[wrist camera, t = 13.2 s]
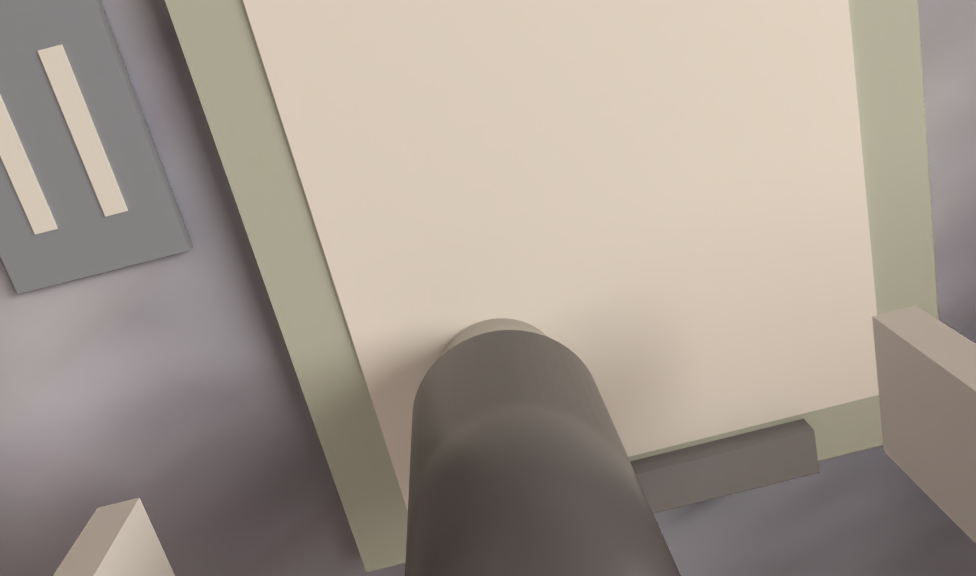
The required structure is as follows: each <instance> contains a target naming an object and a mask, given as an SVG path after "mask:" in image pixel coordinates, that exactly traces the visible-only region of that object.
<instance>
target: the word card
mask: <svg viewBox="0 0 976 576" xmlns="http://www.w3.org/2000/svg"><path fill="white" fill-rule="evenodd" d="M192 248H193V246H192V243H191V241H190V238H189V236H188V233H187V230H186V228H185V225H184V222H183V220H182V217H181V214H180V212H179V209H178V206H177V204H176V201H175V198H174V196H173V193H172V190H171V188H170V185H169V182H168V180H167V177H166V174H165V172H164V169H163V167H162V164H161V161H160V159H159V156H158V153H157V151H156V148H155V145H154V143H153V140H152V137H151V135H150V132H149V129H148V127H147V124H146V121H145V119H144V116H143V113H142V111H141V108H140V106H139V103H138V100H137V98H136V95H135V92H134V90H133V87H132V84H131V82H130V79H129V76H128V74H127V71H126V68H125V66H124V63H123V60H122V58H121V55H120V52H119V50H118V47H117V44H116V42H115V39H114V37H113V34H112V31H111V29H110V26H109V23H108V21H107V18H106V15H105V13H104V10H103V7H102V5H101V2H100V0H0V257H1V259H2V262H3V264H4V266H5V268H6V270H7V272H8V275H9V277H10V279H11V281H12V283H13V285H14V288H15V290H16V292H17V294H21V293H25V292H29V291H33V290H37V289H41V288H45V287H49V286H53V285H57V284H60V283H64V282H68V281H72V280H76V279H80V278H84V277H88V276H92V275H96V274H100V273H104V272H108V271H112V270H116V269H120V268H124V267H127V266H131V265H135V264H139V263H143V262H147V261H151V260H155V259H159V258H163V257H167V256H171V255H175V254H179V253H183V252H187V251H190V250H191V249H192Z"/></svg>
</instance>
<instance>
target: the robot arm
mask: <svg viewBox="0 0 976 576" xmlns="http://www.w3.org/2000/svg"><path fill="white" fill-rule="evenodd" d="M872 321H873V332H874V344H875V356H876V367H877V379H878V390H879V402H880V413H881V425H882V436H883V448H884V452H885V453H886V454H887V455H888V456H889V457H890V458H891V459H892V460H893V461H894V462H895V463H896V464H897V465H898V466H899V467H900V468H901V469H902V470H903V471H904V472H905V473H906V474H907V475H908V476H909V477H910V478H911V479H912V480H913V481H914V482H915V483H916V484H917V485H918V486H919V487H920V488H921V489H922V490H923V491H924V492H925V493H926V494H927V495H928V496H929V497H930V498H931V499H932V500H933V501H934V502H935V503H936V504H937V505H938V506H939V507H940V508H941V509H942V510H943V511H944V512H945V514H946V515H947V516H948V517H949V518H950V519H951V520H952V521H953V522H954V523H955V524H956V525H957V526H958V527H959V528H960V529H961V530H962V531H963V532H964V533H965V534H966V535H967V536H968V537H969V538H970V539H971V540H972V541H973V542H974V543H975V544H976V344H975V343H974V342H972V341H971V340H969V339H967V338H966V337H964V336H963V335H961V334H960V333H958V332H956V331H955V330H953V329H952V328H950V327H949V326H947V325H945V324H944V323H942V322H941V321H939V320H938V319H936V318H934V317H933V316H931V315H930V314H928V313H927V312H925V311H923V310H922V309H920V308H919V307H917V306H912V307H908V308H904V309H900V310H896V311H892V312H888V313H884V314H880V315H875V316H872ZM53 576H175V574H174V572H173V570H172V568H171V566H170V564H169V561H168V559H167V557H166V555H165V553H164V550H163V548H162V546H161V544H160V542H159V539H158V537H157V535H156V533H155V531H154V528H153V526H152V524H151V522H150V520H149V517H148V515H147V513H146V511H145V509H144V507H143V504H142V502H141V500H140V498H135V499H131V500H127V501H123V502H119V503H115V504H111V505H107V506H103V507H99V508H97V509H96V511H95V512H94V514H93V515H92V517H91V518H90V520H89V521H88V523H87V524H86V526H85V527H84V529H83V531H82V532H81V534H80V535H79V537H78V538H77V540H76V541H75V543H74V544H73V546H72V547H71V549H70V550H69V552H68V553H67V555H66V557H65V558H64V560H63V561H62V563H61V564H60V566H59V567H58V569H57V570H56V572H55V573H54V575H53Z"/></svg>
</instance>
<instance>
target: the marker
mask: <svg viewBox="0 0 976 576" xmlns="http://www.w3.org/2000/svg"><path fill="white" fill-rule="evenodd" d="M405 576H680V574H679V571H678V569H677V567H676V564H675V562H674V560H673V558H672V555H671V553H670V551H669V549H668V546H667V544H666V542H665V540H664V537H663V535H662V533H661V530H660V528H659V526H658V524H657V521H656V519H655V517H654V515H653V512H652V510H651V508H650V506H649V503H648V501H647V499H646V496H645V494H644V492H643V490H642V487H641V485H640V483H639V481H638V478H637V476H636V474H635V472H634V469H633V467H632V465H631V462H630V460H629V458H628V456H627V453H626V451H625V449H624V447H623V444H622V442H621V440H620V438H619V435H618V433H617V431H616V428H615V426H614V424H613V422H612V419H611V417H610V415H609V413H608V410H607V408H606V406H605V403H604V401H603V399H602V397H601V394H600V392H599V390H598V388H597V385H596V383H595V381H594V379H593V377H592V374H591V373H590V371H589V370H588V368H587V367H586V365H585V364H584V363H583V362H582V361H581V359H580V358H579V357H578V356H577V355H576V354H574V353H573V352H572V351H571V350H570V349H569V348H567V347H566V346H564V345H563V344H561V343H559V342H558V341H555V340H553V339H551V338H549V337H547V336H546V335H545V334H544V333H543V332H542V331H540V330H539V329H537V328H536V327H534V326H532V325H530V324H528V323H526V322H522V321H519V320H515V319H507V318H496V319H489V320H484V321H481V322H478V323H475V324H473V325H471V326H469V327H467V328H465V329H464V330H462V331H461V332H459V333H458V334H457V335H456V336H455V337H454V338H453V339H452V340H451V341H450V342H449V343H448V345H447V346H446V347H445V349H444V351H443V352H442V354H441V356H440V358H439V359H438V360H437V361H436V362H435V363H434V364H433V365H432V366H431V368H430V369H429V370H428V372H427V373H426V374H425V376H424V378H423V380H422V382H421V383H420V385H419V388H418V391H417V393H416V396H415V400H414V405H413V414H412V433H411V454H410V476H409V497H408V519H407V540H406V562H405Z"/></svg>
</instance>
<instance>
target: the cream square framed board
mask: <svg viewBox="0 0 976 576" xmlns="http://www.w3.org/2000/svg"><path fill="white" fill-rule="evenodd" d="M165 2H166V5H167V8H168V11H169V14H170V17H171V20H172V22H173V25H174V28H175V31H176V34H177V37H178V39H179V42H180V45H181V48H182V51H183V54H184V56H185V59H186V62H187V65H188V68H189V71H190V73H191V76H192V79H193V82H194V85H195V88H196V90H197V93H198V96H199V99H200V102H201V105H202V108H203V110H204V113H205V116H206V119H207V122H208V125H209V127H210V130H211V133H212V136H213V139H214V142H215V144H216V147H217V150H218V153H219V156H220V159H221V161H222V164H223V167H224V170H225V173H226V176H227V179H228V181H229V184H230V187H231V190H232V193H233V196H234V198H235V201H236V204H237V207H238V210H239V213H240V215H241V218H242V221H243V224H244V227H245V230H246V232H247V235H248V238H249V241H250V244H251V247H252V250H253V252H254V255H255V258H256V261H257V264H258V267H259V269H260V272H261V275H262V278H263V281H264V284H265V286H266V289H267V292H268V295H269V298H270V301H271V303H272V306H273V309H274V312H275V315H276V318H277V320H278V323H279V326H280V329H281V332H282V335H283V338H284V340H285V343H286V346H287V349H288V352H289V355H290V357H291V360H292V363H293V366H294V369H295V372H296V374H297V377H298V380H299V383H300V386H301V389H302V391H303V394H304V397H305V400H306V403H307V406H308V409H309V411H310V414H311V417H312V420H313V423H314V426H315V428H316V431H317V434H318V437H319V440H320V443H321V445H322V448H323V451H324V454H325V457H326V460H327V462H328V465H329V468H330V471H331V474H332V477H333V480H334V482H335V485H336V488H337V491H338V494H339V497H340V499H341V502H342V505H343V508H344V511H345V514H346V516H347V519H348V522H349V525H350V528H351V531H352V533H353V536H354V539H355V542H356V545H357V548H358V550H359V553H360V556H361V559H362V562H363V565H364V568H365V570H366V573H367V572H371V571H375V570H379V569H383V568H387V567H391V566H395V565H399V564H403V563H405V562H406V540H407V519H408V497H409V476H410V454H411V433H412V414H413V405H414V400H415V396H416V393H417V391H418V388H419V385H420V383H421V382H422V380H423V378H424V376H425V374H426V373H427V372H428V370H429V369H430V368H431V366H432V365H433V364H434V363H435V362H436V361H437V360H438V359H439V358H440V356H441V354H442V352H443V351H444V349H445V347H446V346H447V345H448V343H449V342H450V341H451V340H452V339H453V338H454V337H455V336H456V335H457V334H458V333H459V332H461V331H462V330H464V329H465V328H467V327H469V326H471V325H473V324H475V323H478V322H481V321H484V320H489V319H496V318H507V319H515V320H519V321H522V322H526V323H528V324H530V325H532V326H534V327H536V328H537V329H539V330H540V331H542V332H543V333H544V334H545V335H546V336H547V337H549V338H551V339H553V340H555V341H558V342H559V343H561V344H563V345H564V346H566V347H567V348H569V349H570V350H571V351H572V352H573V353H574V354H576V355H577V356H578V357H579V358H580V359H581V361H582V362H583V363H584V364H585V365H586V367H587V368H588V370H589V371H590V373H591V374H592V377H593V379H594V381H595V383H596V385H597V388H598V390H599V392H600V394H601V397H602V399H603V401H604V403H605V406H606V408H607V410H608V413H609V415H610V417H611V419H612V422H613V424H614V426H615V428H616V431H617V433H618V435H619V438H620V440H621V442H622V444H623V447H624V449H625V451H626V453H627V456H628V458H629V460H630V462H631V465H632V467H633V469H634V472H635V474H636V476H637V478H638V481H639V483H640V485H641V487H642V490H643V492H644V494H645V496H646V499H647V501H648V503H649V506H650V508H651V510H652V512H653V513H657V512H661V511H666V510H670V509H674V508H678V507H682V506H686V505H690V504H694V503H698V502H702V501H706V500H710V499H714V498H718V497H722V496H726V495H730V494H734V493H739V492H743V491H747V490H751V489H755V488H759V487H763V486H767V485H771V484H775V483H779V482H783V481H787V480H791V479H795V478H799V477H803V476H808V475H812V474H816V473H819V465H818V461H820V460H825V459H829V458H833V457H837V456H841V455H845V454H849V453H853V452H857V451H861V450H865V449H869V448H873V447H877V446H881V445H883V436H882V425H881V413H880V402H879V390H878V379H877V367H876V356H875V344H874V332H873V321H872V316H875V315H880V314H884V313H888V312H892V311H896V310H900V309H904V308H908V307H912V306H917V307H919V308H920V309H922V310H923V311H925V312H927V313H928V314H930V315H931V316H933V317H934V318H936V319H938V305H937V290H936V274H935V259H934V244H933V228H932V213H931V198H930V182H929V167H928V151H927V136H926V121H925V105H924V90H923V74H922V59H921V44H920V28H919V13H918V0H165Z"/></svg>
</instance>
